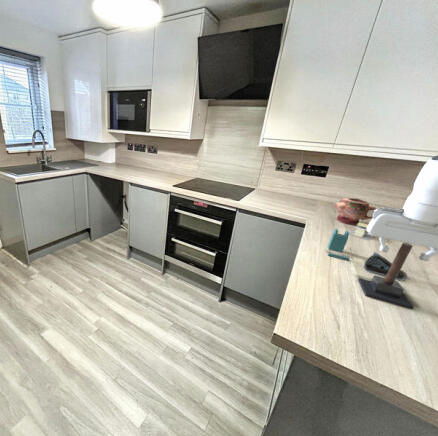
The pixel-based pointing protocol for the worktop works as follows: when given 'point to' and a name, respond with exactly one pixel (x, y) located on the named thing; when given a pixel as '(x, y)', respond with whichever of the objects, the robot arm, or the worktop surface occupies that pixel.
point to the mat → (370, 292)
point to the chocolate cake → (381, 266)
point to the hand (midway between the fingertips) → (402, 255)
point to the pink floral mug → (353, 210)
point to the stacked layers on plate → (361, 232)
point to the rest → (338, 244)
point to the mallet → (392, 275)
